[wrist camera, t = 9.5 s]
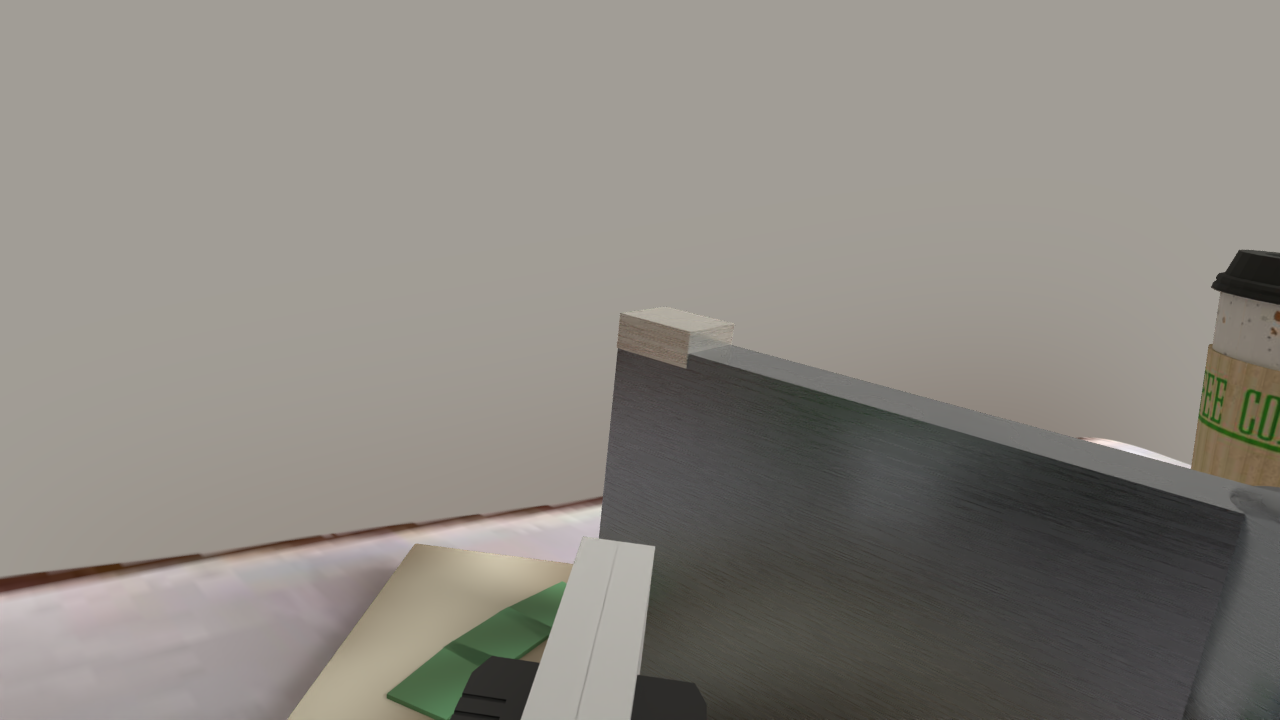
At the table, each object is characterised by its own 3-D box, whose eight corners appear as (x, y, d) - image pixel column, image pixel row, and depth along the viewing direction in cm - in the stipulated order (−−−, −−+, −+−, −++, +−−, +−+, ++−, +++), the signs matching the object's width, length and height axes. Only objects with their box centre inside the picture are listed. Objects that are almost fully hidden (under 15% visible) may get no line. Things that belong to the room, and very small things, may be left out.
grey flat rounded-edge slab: (1307, 973, 17) (1492, 504, 15) (1305, 1118, 14) (1532, 571, 12) (644, 615, 28) (681, 304, 25) (570, 658, 25) (602, 315, 22)
